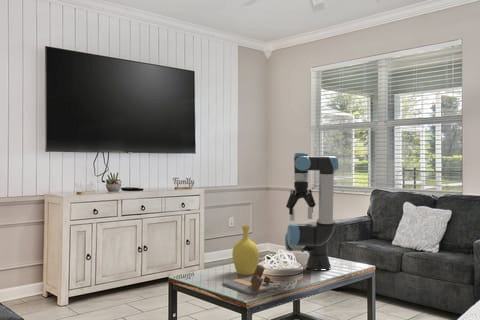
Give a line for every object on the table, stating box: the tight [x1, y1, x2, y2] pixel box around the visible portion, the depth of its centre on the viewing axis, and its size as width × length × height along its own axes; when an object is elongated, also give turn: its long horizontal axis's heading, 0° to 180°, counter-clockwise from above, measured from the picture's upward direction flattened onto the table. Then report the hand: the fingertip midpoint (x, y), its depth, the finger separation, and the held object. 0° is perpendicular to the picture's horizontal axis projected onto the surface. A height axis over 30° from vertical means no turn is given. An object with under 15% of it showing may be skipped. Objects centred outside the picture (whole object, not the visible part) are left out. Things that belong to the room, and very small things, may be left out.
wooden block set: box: [250, 264, 271, 291], centre depth 236 cm, size 18×9×10 cm, turn 162°
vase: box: [231, 225, 260, 276], centre depth 273 cm, size 16×16×28 cm
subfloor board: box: [221, 277, 278, 296], centre depth 241 cm, size 18×24×2 cm
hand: (301, 219), depth 249 cm, fingers open, 13 cm apart
